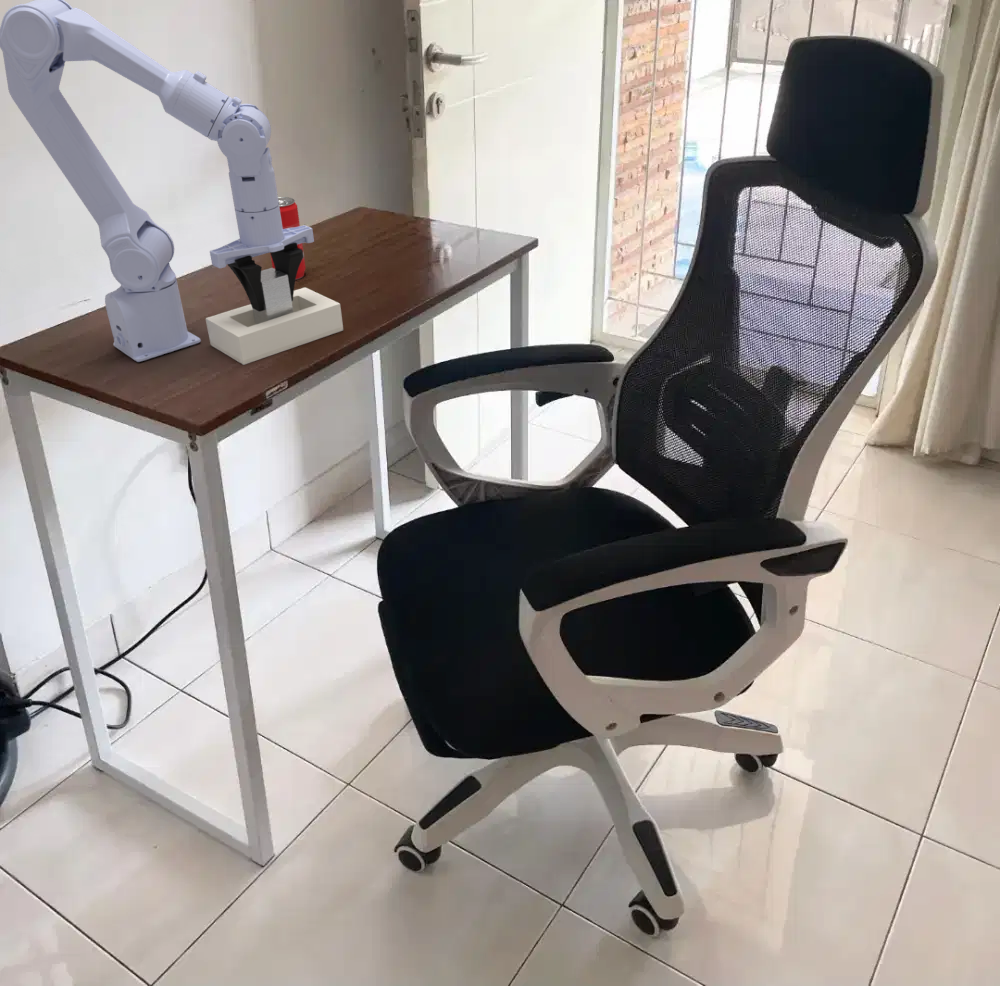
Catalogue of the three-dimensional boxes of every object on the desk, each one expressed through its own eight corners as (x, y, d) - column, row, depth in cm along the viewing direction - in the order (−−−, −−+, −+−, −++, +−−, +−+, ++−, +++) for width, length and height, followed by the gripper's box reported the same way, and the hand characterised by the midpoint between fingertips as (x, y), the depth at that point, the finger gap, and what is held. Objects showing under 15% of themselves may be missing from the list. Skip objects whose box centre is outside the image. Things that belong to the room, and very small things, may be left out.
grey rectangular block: (270, 331, 137) (261, 282, 134) (255, 323, 140) (246, 275, 136) (295, 322, 140) (287, 274, 136) (279, 315, 142) (272, 267, 138)
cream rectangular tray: (243, 364, 133) (238, 337, 131) (210, 345, 139) (205, 318, 137) (343, 330, 142) (340, 303, 140) (308, 313, 148) (305, 287, 146)
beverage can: (299, 282, 159) (289, 207, 152) (268, 280, 160) (257, 205, 153) (311, 271, 163) (301, 197, 157) (281, 269, 164) (270, 196, 158)
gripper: (222, 225, 124) (240, 327, 132) (320, 200, 132) (333, 297, 140) (195, 213, 129) (214, 313, 136) (292, 189, 137) (305, 284, 144)
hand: (272, 304), depth 138 cm, fingers closed on grey rectangular block, 4 cm apart
